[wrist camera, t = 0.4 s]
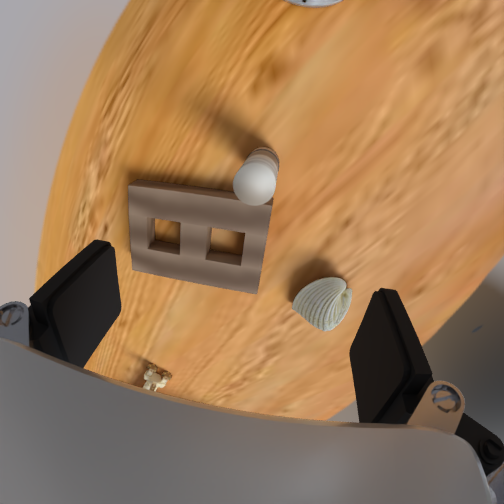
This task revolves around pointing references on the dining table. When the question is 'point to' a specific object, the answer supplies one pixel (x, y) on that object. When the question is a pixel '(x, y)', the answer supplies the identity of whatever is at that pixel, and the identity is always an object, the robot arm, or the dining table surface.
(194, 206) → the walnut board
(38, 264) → the dining table surface
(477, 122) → the dining table surface
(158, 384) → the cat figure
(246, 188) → the grey domed cylinder
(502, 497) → the robot arm
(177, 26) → the dining table surface
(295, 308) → the seashell
